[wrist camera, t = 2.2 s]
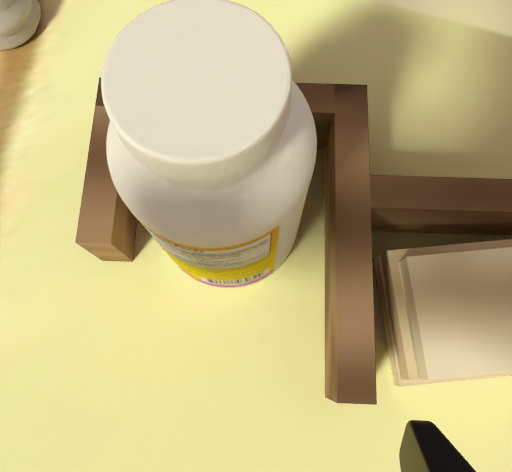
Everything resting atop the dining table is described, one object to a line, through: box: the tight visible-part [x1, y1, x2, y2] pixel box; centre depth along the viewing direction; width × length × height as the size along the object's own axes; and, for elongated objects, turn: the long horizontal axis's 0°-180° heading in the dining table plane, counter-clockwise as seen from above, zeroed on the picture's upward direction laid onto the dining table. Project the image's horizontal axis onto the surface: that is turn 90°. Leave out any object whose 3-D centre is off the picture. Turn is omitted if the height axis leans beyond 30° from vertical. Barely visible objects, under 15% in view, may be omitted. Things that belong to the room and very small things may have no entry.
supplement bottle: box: [101, 0, 317, 288], centre depth 17 cm, size 7×7×13 cm
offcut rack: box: [76, 78, 512, 404], centre depth 22 cm, size 14×24×4 cm, turn 88°
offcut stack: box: [374, 239, 512, 386], centre depth 21 cm, size 6×7×4 cm
